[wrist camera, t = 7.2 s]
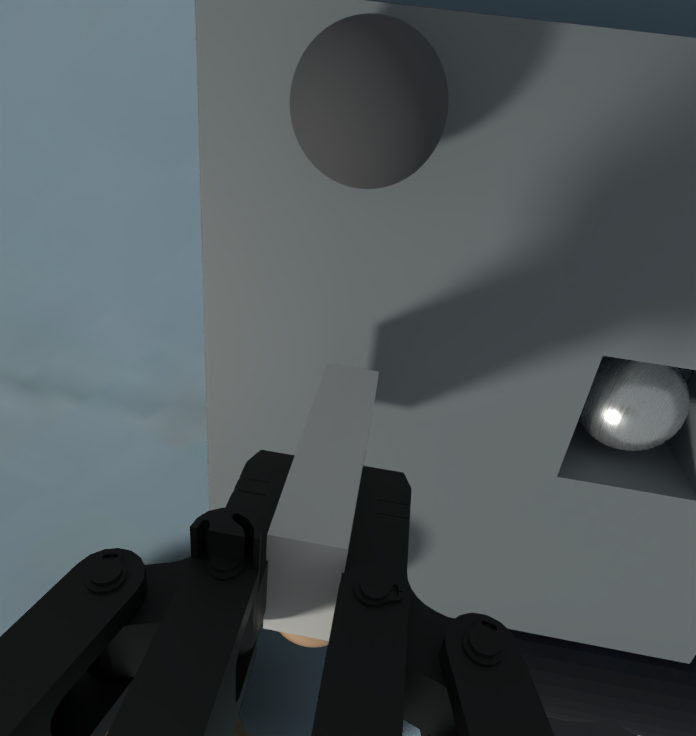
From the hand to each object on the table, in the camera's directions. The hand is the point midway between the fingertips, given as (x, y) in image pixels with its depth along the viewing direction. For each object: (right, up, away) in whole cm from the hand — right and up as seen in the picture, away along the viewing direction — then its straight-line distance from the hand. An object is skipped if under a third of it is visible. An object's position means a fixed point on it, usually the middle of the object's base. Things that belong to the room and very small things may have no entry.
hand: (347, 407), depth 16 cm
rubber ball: (+1, +8, -3) cm, 8 cm away
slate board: (+5, +2, +4) cm, 7 cm away
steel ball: (+8, +1, +3) cm, 9 cm away
